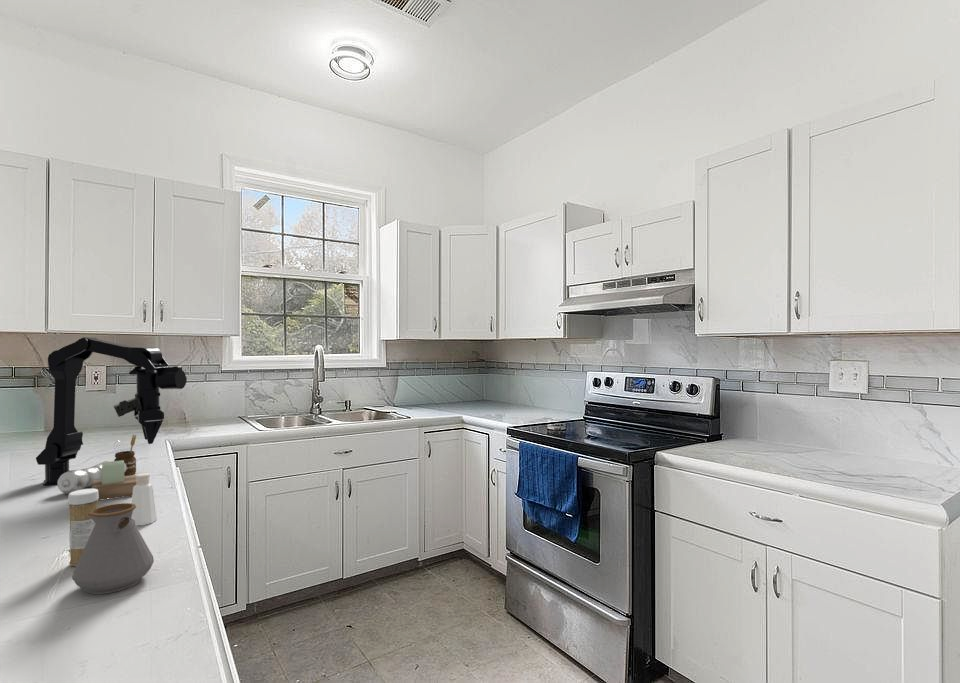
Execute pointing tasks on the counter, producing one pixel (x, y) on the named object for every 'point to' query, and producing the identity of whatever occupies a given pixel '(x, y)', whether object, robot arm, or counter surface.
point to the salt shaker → (143, 501)
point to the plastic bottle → (80, 478)
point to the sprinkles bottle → (81, 520)
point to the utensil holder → (127, 458)
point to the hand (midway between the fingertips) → (148, 441)
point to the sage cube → (112, 472)
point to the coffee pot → (113, 552)
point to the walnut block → (115, 488)
